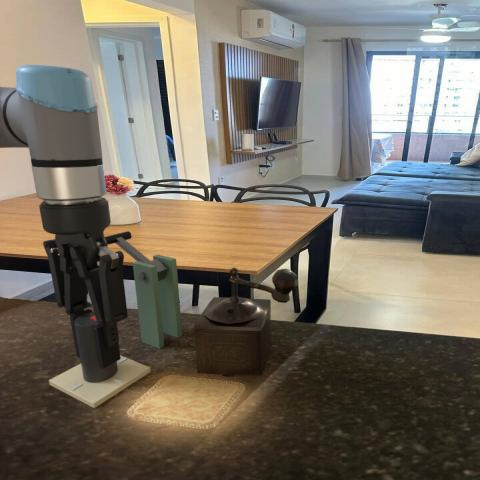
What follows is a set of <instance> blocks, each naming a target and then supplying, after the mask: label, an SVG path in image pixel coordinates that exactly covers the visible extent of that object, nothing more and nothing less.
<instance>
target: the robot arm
mask: <svg viewBox="0 0 480 480" xmlns="http://www.w3.org/2000/svg"><path fill="white" fill-rule="evenodd" d="M15 78H16V79H15V80H16V81H15V83H16V85H15V87H11V86H9V87H8V86H0V149H10V148H13V149H14V148H20V149H21V148H24V149H25V148H26V149H28V151H29V155H30V163H31V171H32V177H33V181H34V187H35V193H36V197H37V198H38V199H39V200H42V201H41V202H40V203H39V205H38V208H39V213H40V219H41V224H42V229H43V231H44V232H46V233H48V234H51V235H54V238H52V239H47V240H43V242H42V246H43V248H44V251H45V254H46V256H47V259H48V264H49V270H50V275H51V281H52V287H53V291H54V296H55V302H56V305H57V307H58V308H59V309H60V308H64V311H65V314H67V315H68V316H69V321H70V326H71V331H72V337H73V344H74V350H75V355H76V358H78V359H80V354H79V348H78V342H77V336H76V330H75V324H74V321H75V319H76V318H77V317H79V316H81V315H83V314H86V313H89V312H94V313H95V317H96V320H97V323H96V324H93V325H92V327H93V328H94V334H95V340H96V347H97V353H98V360H99V366H100V368H102V369H104V368H106V367H107V366H109V365H111V364H113V363H114V362H116V361H118V360H120V359H121V358H120V355H121V351H120V344H119V341H120V336H119V329H118V323H119V322H122V321H123V320H126V319H128V318H129V317H128V307H127V306H128V305H127V297H126V289H125V280H124V272H123V267H124V266H123V265H124V260H125V255H124V252H123V251H122V250H117V251H113V250H112V249H110V248H109V245H108V244H107V241H106V239H105V237H106V236H105V233H104V232H105V230H106V229H107V228H108V227H109V226H110V225H111V223H112V221H111V213H110V211H111V210H110V205H109V200H108V199H107V198H105V197H104V196H105V195H106V194H107V191H108V190H107V185H106V179H105V178H106V177H105V170H104V162H103V149H102V142H101V141H102V140H101V132H100V131H101V130H100V123H99V113H98V103H97V102H96V98H95V93H94V87H93V82H92V79H91V77H90V75H89V74H87V73H86V72H84V71H83V70H81V69H76V68H71V67H63V66H55V65H46V64H45V65H44V64H23V65H20V66H19V67H17V69H16V71H15ZM88 296H89V299H90V302H89V301H88ZM90 307H92V309H93V310H92V309H89V308H90ZM87 308H88V309H87Z"/></svg>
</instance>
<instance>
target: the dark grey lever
mask: <svg viewBox="0 0 480 480" xmlns="http://www.w3.org/2000/svg"><path fill="white" fill-rule="evenodd" d="M104 237H105V239H106V241H107V244H108V246H110V245H112V244H116V245H117V246H118V247H119V248H120V249H122V250H123V251H124V252H125V253H126V254H128V255H129V256H130V257H131V258H133V259H134V260H135V262H136V261H139V262H143V263H147V264H151V265H155V266H157V276H158V281H161V280H163V279H165V277H166V274H167V270H168V268H167V267H166V266H165V265H164V264H163V263H161V262H160V261H159V260H158V259H155V260H153V259H152V260H150V259H149V258H148V257H147V256H145V255H144V254H143V252H141V251H140V250H138V249H137V248H136V247H134V246H133V245H132V244H131V243H130V242H128V240H131V239H132V233H131V231H129V230H127V231H123V232H119V233H115V234H111V235H106V236H104Z"/></svg>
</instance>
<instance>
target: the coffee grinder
mask: <svg viewBox="0 0 480 480" xmlns="http://www.w3.org/2000/svg"><path fill="white" fill-rule="evenodd" d="M229 274H230V277H229V279H228V281H229V282H231V297H221V296H217V297H216V296H213V297H212V299H210V301H209V302H208V304H207V305H206V307H205V308H204V309H203V311H202V312H201V314H200V315H199V316H198V318H197V319H196V321H195V323H194V324H193V331H194V332H193V333H194V346H195V347H194V348H195V359H196V371H197V374H205V375H221V377H226V378H234V376H263V373H264V371H265V368H266V366H267V364H268V360H269V356H270V351H271V347H272V346H271V345H272V337H271V336H272V331H271V330H272V328H271V327H272V325H271V320H272V319H271V317H272V316H271V313H272V312H271V311H272V306H271V305H272V304H271V302H272V301H271V299H267V298H266V299H265V298H248V297H247V298H246V297H241V296H239V294H238V293H239V292H238V289H239V288H238V284H239V285H240V286H243V287H246V288H251V289H255V290H260V291H264V292H266V293H269V294H271V295H270V296H271V298H272V299H273V301H275V302H277V303H282V304H286V303H289V302H290V300H291V296H290V293H292V291H293V290H294V289H296V288H297V287H298V285H299V279H298V275H297V274H296V273H295V272H293V270H291V269H289V268H280V269H276V271H275V272H274V274H273V276H272V277H271V283H272V284H273V286H274V287H271V286H269V285H265V284H261V283H258V282H253V281H249V280H245V279H242V278H240V277H239V269H238V268H237V267H232V268H231V269H229Z"/></svg>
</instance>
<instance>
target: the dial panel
mask: <svg viewBox="0 0 480 480" xmlns="http://www.w3.org/2000/svg"><path fill="white" fill-rule="evenodd" d="M120 358H121V359H120V360H118V361H117V367H118V371H117V373H116V374H115V375H114V376H113V377H111V378H109V379H107V380H105V381H102V382H96V383H90V382H87V381H85V380H84V378H83V372H82V366H81V363H78V364H77V365H75V366H73V367H71V368H69V369H67V370H66V371H64V372H62V373H60V374H58V375H56V376H54V377H52V378H50V379H48V384H49V386H51V387H53V388H55V389H57V390H59V391H61V392H63V393H64V394H66V395H68V396H70V397H72V398H74V399H76V400H78V401H79V402H82V403H83V404H86V405H87V406H89V407H91V408H93V409H96V408H97V407H98V406H100V405H101V404H103V403H105V402H106V401H108V400H109V399H111V398H112V397H114V396H116V395H117V394H119V393H120V392H122V391H124V390H125V389H126V388H128V387H130V386H131V385H132V384H134V383H136V382H137V381H139V380H140V379H142V378H143V377H145V376H146V375H148V374H150V373H151V371H152V370H151V367H150V366H148V365H145V364H143V363H140V362H138V361H136V360H133V359H131V358H128V357H126V356H123V355H121V354H120Z"/></svg>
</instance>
